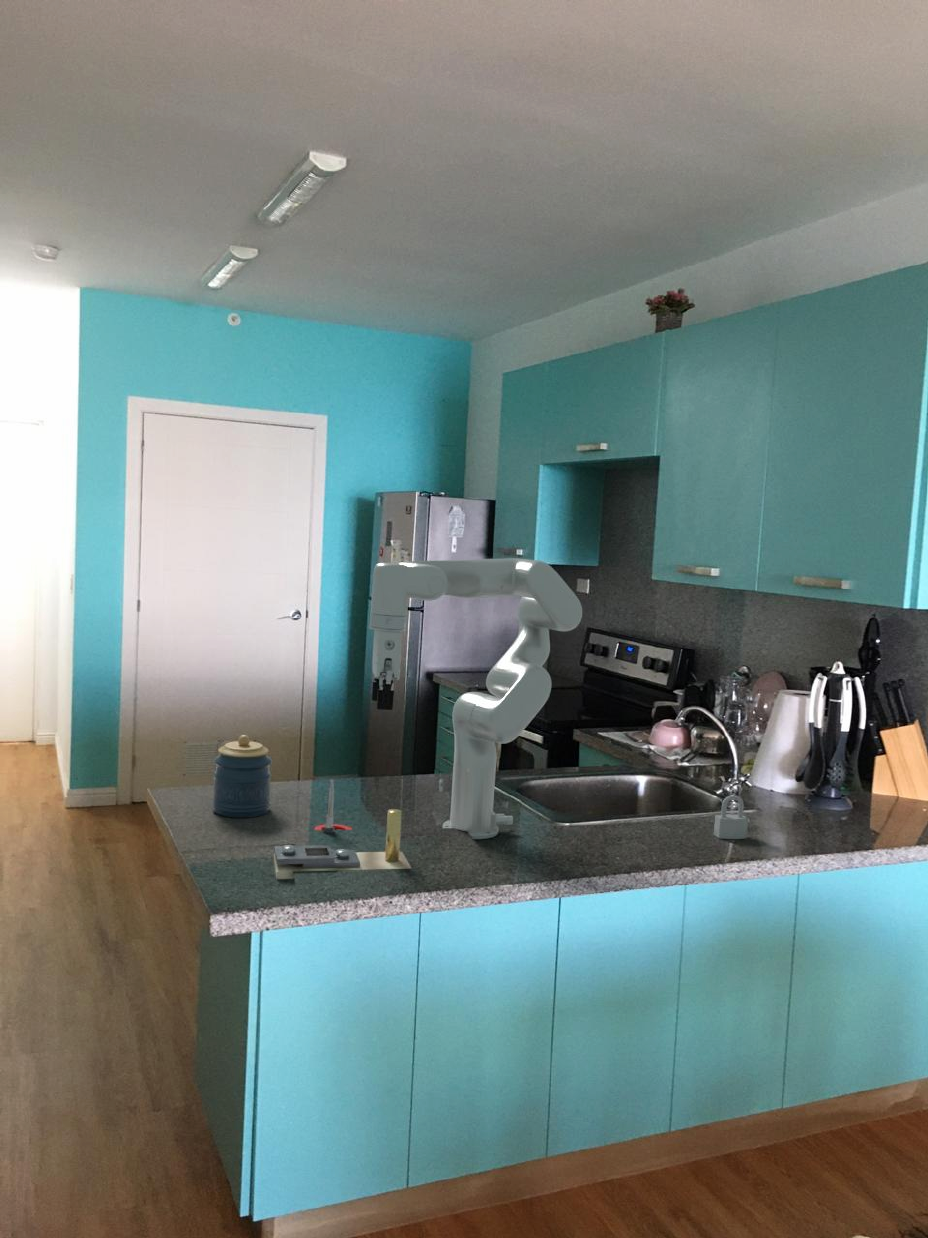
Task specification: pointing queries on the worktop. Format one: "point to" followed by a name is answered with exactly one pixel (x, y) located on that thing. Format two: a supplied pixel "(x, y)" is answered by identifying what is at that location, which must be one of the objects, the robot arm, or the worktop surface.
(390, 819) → the pin
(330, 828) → the tow hook
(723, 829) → the padlock
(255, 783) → the canister
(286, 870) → the jig board
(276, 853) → the riveted slotted plate
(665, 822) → the worktop surface
